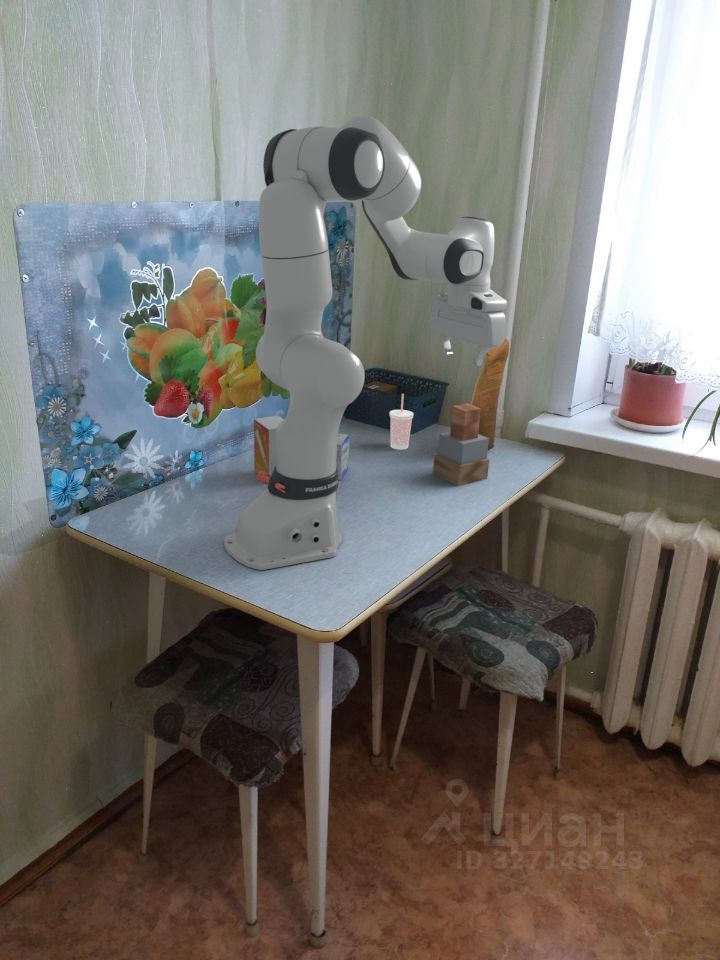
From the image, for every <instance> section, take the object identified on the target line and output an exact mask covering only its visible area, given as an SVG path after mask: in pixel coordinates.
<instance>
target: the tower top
mask: <svg viewBox="0 0 720 960" xmlns="http://www.w3.org/2000/svg"><path fill="white" fill-rule="evenodd" d="M488 443H489V438H487V437H484V436H482V435H479V434H478V438H475V439H470V440H465V441H462V440H460V439H457V438H455V437H453V436H451V435H450V431H447V432H442V433H439V435H438V448H437V449H438V450H437V454H438V455H441V456H443V457H445V458H447V459H449V460H452V461H454V462H456V463H458V464H460V465H463V464H467V463H471V462H475V461H480V460H484V459H488Z"/></svg>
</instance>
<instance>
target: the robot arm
mask: <svg viewBox="0 0 720 960" xmlns="http://www.w3.org/2000/svg"><path fill="white" fill-rule="evenodd" d="M264 151H265V152H264V156H263V167H262V168H263V169H262V170H263V176H264V184H265V185H266V187H265V188H263V191H262V192H261V194H260V198H259V206H258V207H259V208H258V235H259V237H258V238H259V248H260V249H259V250H260V256H261V257H260V258H261V264H262V272H263V280H264V288H265V289H264V291H265V295H266V313H265V322H264V323H265V325H264V331H263V334H262V335H261V337H260V339H259V340H258V343H257V345H256V348H255V349H256V350H255V361H256V363H257V366H258V368H259V369H260V370H261V372H262V373H263V374H264V375H265V377H267V379H268V380H270V382H271V383H273V384H275V385H276V386H278V387H281V388H282V389H284V390H286V391H288V393H289V396H290V399H289V400H290V401H289V405H288V409H287V414H286V417H285V418H283V419H284V420H283V421H281V422H280V424H279V425H278V427H277V430H276V466H275V467H274V470H273V472H272V475H271V477H270V475H269V474H268V473H266V472H265V471H259V472H258V473H259V474H257V473H256V480H257V481H258V482H261V483H262V484H266V485H267V486H266V487H267V488H266V489H265V490H264V491H262V493H261V494H259V495H258V497H256V498H255V499H254V500H253V501H252V502H250V504H248V506H246V507H245V508H244V509H243V510H241V512H240V513H239V515H238V518H237V522H236V527H235V531H234V532H232V533H230V534H227V535H226V536H224V540H223V547H224V549H225V550H226V552H227V553H228V555H230V557H232V558H233V559H235V561H237V562H239V563H240V564H242V565H243V566H245V567H248V568H251V569H255V570H259V571H264V570H269V569H271V570H272V569H275V568H280V567H286V566H290V565H291V566H292V565H296V564H303V563H307V562H314V561H319V560H324V559H329V558H334V557H336V556H337V553H338V549H337V548H338V547H339V545H341V543H342V542H343V533H342V531H341V526H340V521H339V514H338V506H337V505H338V504H337V491H338V487H339V480H338V468H337V467H336V457H337V439H338V434H339V429H340V425H341V420H342V418H343V415H344V412H345V411H346V409H347V407H348V406H349V405H350V404H351V403H353V402H354V401H355V400H356V399H357V398H358V397H359V395H360V394H361V392H362V390H363V387H364V383H365V379H366V378H365V377H366V375H365V369H364V365H363V362H362V361H361V359H360V358H359V357H358V356H357V355H356V354H354V352H352V351H351V350H350V349H349V348H347V347H346V346H345V345H343V344H342V343H340V342H337V341H334V340H332V339H329V338H326V337H325V336H324V335H323V332H322V320H323V314H324V311H325V307H327V306H328V305H329V304H330V302H331V301H332V298H333V282H332V272H331V261H330V251H329V250H330V249H329V242H328V241H329V240H328V234H327V227H326V223H325V218H324V217H325V216H324V214H325V209H326V206H327V203H328V202H336V201H358V200H361V207H362V211H363V213H364V215H365V217H366V219H367V220H368V222H369V225H371V227H372V229H373V230H374V232H375V234H376V235H377V237H378V238H379V240H380V241H381V243H382V245H383V246H384V248H385V250H386V252H387V254H388V256H389V257H388V258H389V260H390V262H391V266H392V269H393V270H394V272H395V273H396V275H397V276H398V277H399V278H401V279H402V280H406V281H407V280H408V281H410V280H411V281H421V282H422V281H423V282H429V283H436V284H444V285H448V290H447V291H448V292H446V291H444V290H442V291H439V292H438V293H437V294H436V295H435V297H434V301H433V304H432V307H431V312H430V318H429V325H428V327H429V330H430V332H431V333H432V334H433V333H434V334H437V335H440V338H439V339H440V343H441V346H442V355H443V356H445V357H453V355H454V347H452V345H451V341H450V340H452V339H455V340H458V341H462V342H465V343H469V344H472V345H476V350H477V353H476V355H475V356H472V358H471V359H472V361H471V363H472V365H473V366H480V367H481V366H483V363H484V358H485V356H486V353H487V351H488V350H489V349H492V348H497V347H500V346H501V345H502V344H503V341H504V339H505V335H506V325H507V324H506V322H507V321H506V315H505V313H504V312H503V311H506V310H507V305H508V301H507V300H506V299H505V298H503V297H502V296H500V295H499V294H498V293H497V292H495V291H493V289H491V285H492V284H491V282H492V281H491V269H492V268H493V264H494V256H495V239H496V238H495V237H496V236H495V227H494V224H493V223H492V222H491V221H489V220H488V219H485V218H479V217H475V216H462V217H459V218H458V219H457V222H456V226H454V228H452V229H451V230H450V231H448V232H446V233H445V234H444V233H443V234H442V233H433V232H425V231H421V230H416V229H413V228H411V227H409V226H408V224H407V222H406V220H405V219H404V216H405V215H406V214H407V213H409V211H411V210H412V208H413V207H414V205H416V202H418V199H419V197H420V194H421V189H422V178H421V173H420V171H419V169H418V166H417V164H416V163H415V162H414V160H413V158H412V157H411V156H410V154H409V152H407V150H406V149H405V147H404V146H403V144H402V143H401V142H400V140H398V139H397V137H396V136H395V135H394V134H393V133H392V132H391V131H390V130H389V129H388V128H387V127H386V126H385V125H384V124H383V123H382V122H381V121H379V119H377V118H375V117H374V116H371V115H367V114H361V115H356V116H354V117H351V118H350V119H348V120H347V121H346V122H345V123H343V124H342V126H341V127H327V126H319V125H318V126H311V127H303V128H300V129H295V128H292V129H290V128H289V129H287V130H283V131H281V132H279V133H277V134H275V135H274V136H272V137H271V139H270V140H269V141H268V143H267V145H266V148H265V150H264Z"/></svg>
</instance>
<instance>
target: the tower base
mask: <svg viewBox="0 0 720 960" xmlns="http://www.w3.org/2000/svg"><path fill="white" fill-rule="evenodd" d="M489 465H490V459H489V458H487V459H484V460H480V461H475V462H471V463H467V464H463V465H460V464H458V463H456V462H454V461H452V460H449V459H447V458H445V457H443V456H441V455H438V453H434V455H433V465H432V466H433V468H432V474H433V475H435V476H436V477H437V476H438V478H441V479H443V480H445V481H447V482H450V483H452V484H453V485H455V486H458V487H460V486H464V485H468V484H472V483H476V482H480V481H484V480H488V475H489V474H488V473H489Z"/></svg>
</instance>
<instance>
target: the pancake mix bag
mask: <svg viewBox="0 0 720 960" xmlns="http://www.w3.org/2000/svg"><path fill="white" fill-rule="evenodd" d="M509 351H510V342H509V340H508V339H507V338H504V341H503V344H502V345H501V346H500V347H497V348H489V349H488V351H487V353H486V354H485V356H484V358H483V363H482V365H481V369H480V371H479V373H478V376H477V379H476V382H475V384H474V388H473V391H472V397H471V402H470V405H473V406H476V407H478V408H481V412H480V422H479V431H478V434H479V435H482V436H484V437H487V438H489V443H488V450H491V449H492V448H494V447H495V436H496V429H497V428H496V427H497V426H496V425H497V412H498V404H499V397H500V394H501V393H500V391H501V386H502V382H503V379H504V373H505V372H504V371H505V368H506V365H507V360H508V356H509V353H510V352H509Z"/></svg>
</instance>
